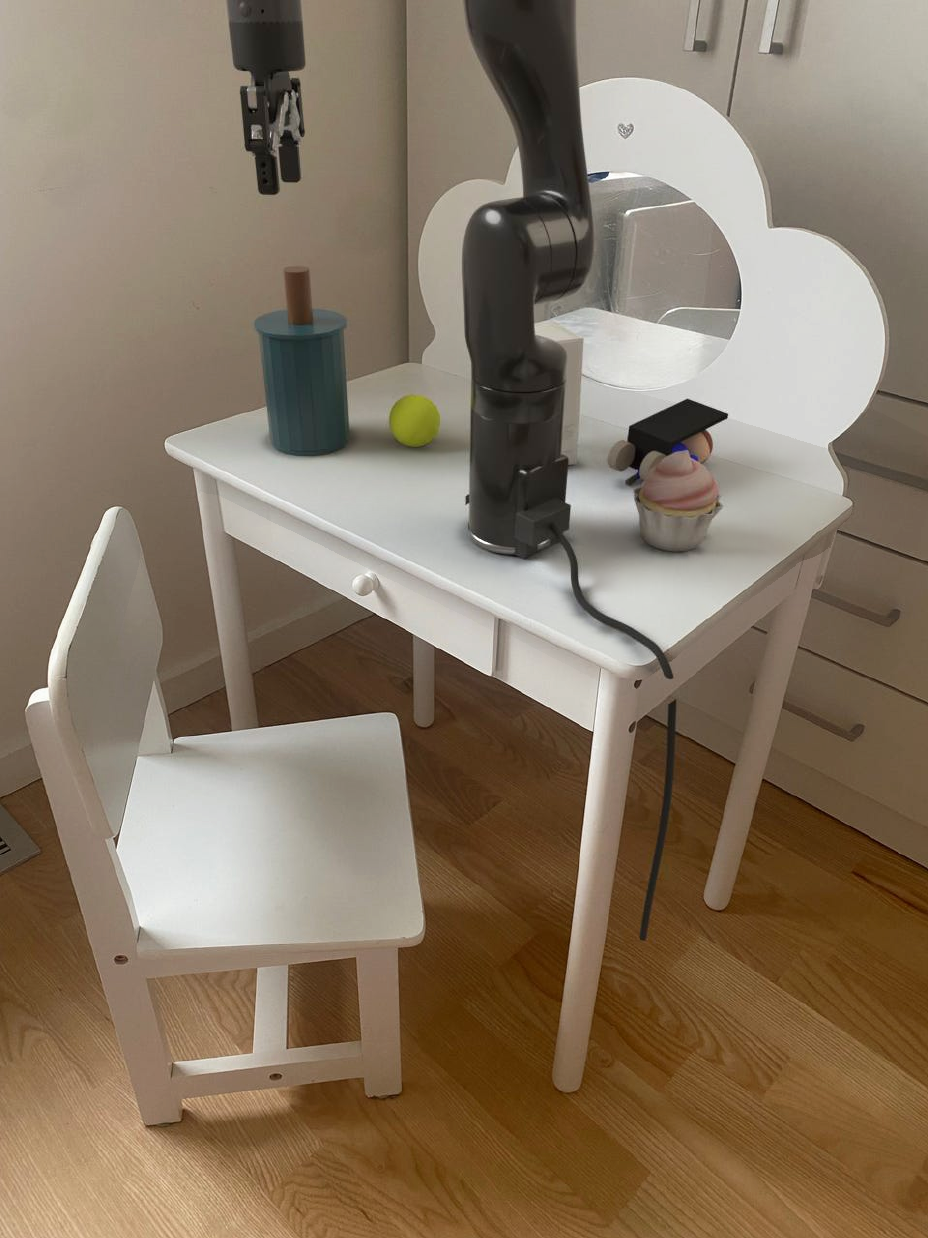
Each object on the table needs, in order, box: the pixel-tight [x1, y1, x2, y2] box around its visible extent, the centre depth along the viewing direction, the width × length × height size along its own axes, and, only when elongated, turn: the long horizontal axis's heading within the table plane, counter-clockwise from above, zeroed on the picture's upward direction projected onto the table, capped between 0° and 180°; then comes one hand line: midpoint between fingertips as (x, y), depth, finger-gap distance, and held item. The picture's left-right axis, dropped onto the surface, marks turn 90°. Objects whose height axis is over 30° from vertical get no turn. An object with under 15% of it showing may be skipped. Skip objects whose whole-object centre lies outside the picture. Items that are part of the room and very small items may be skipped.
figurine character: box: [607, 398, 729, 486], centre depth 113 cm, size 7×8×15 cm
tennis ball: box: [388, 394, 441, 448], centre depth 120 cm, size 6×6×6 cm
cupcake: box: [632, 450, 725, 553], centre depth 99 cm, size 9×9×10 cm
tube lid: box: [253, 265, 348, 339], centre depth 113 cm, size 11×11×7 cm
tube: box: [258, 329, 351, 457], centre depth 118 cm, size 10×10×15 cm
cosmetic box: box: [534, 320, 585, 466], centre depth 115 cm, size 8×7×16 cm
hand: (280, 187), depth 107 cm, fingers open, 8 cm apart
